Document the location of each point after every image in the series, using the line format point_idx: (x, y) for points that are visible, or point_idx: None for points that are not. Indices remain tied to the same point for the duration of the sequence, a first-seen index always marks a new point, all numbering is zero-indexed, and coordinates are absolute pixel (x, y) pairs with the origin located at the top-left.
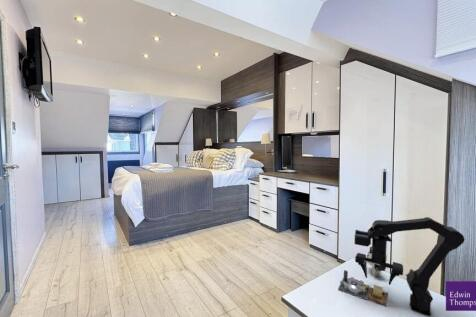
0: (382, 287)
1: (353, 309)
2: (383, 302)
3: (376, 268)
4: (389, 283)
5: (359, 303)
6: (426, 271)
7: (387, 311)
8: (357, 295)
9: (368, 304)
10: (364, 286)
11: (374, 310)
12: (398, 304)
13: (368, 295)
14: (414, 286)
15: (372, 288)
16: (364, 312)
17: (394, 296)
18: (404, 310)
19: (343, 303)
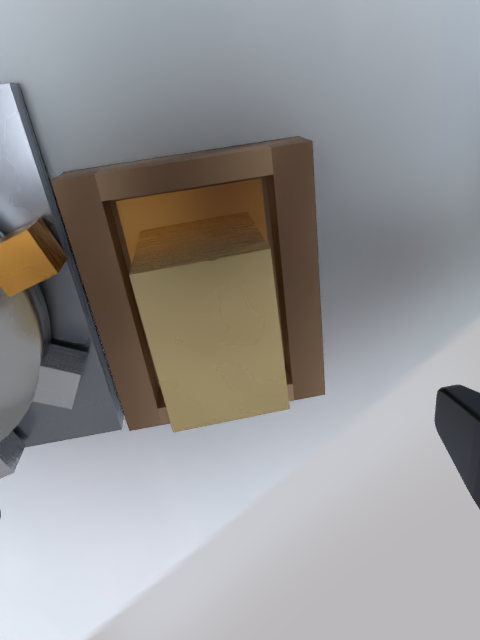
0: (266, 253)
1: (107, 586)
2: (296, 398)
3: None
4: (469, 472)
5: (105, 500)
6: None
7: (331, 425)
8: (32, 443)
9: (171, 457)
10: (3, 295)
11: (238, 489)
12: (421, 230)
13: (131, 405)
14: None
15: (99, 197)
16: (184, 558)
17: (378, 60)
18: (470, 295)
19: (11, 587)
